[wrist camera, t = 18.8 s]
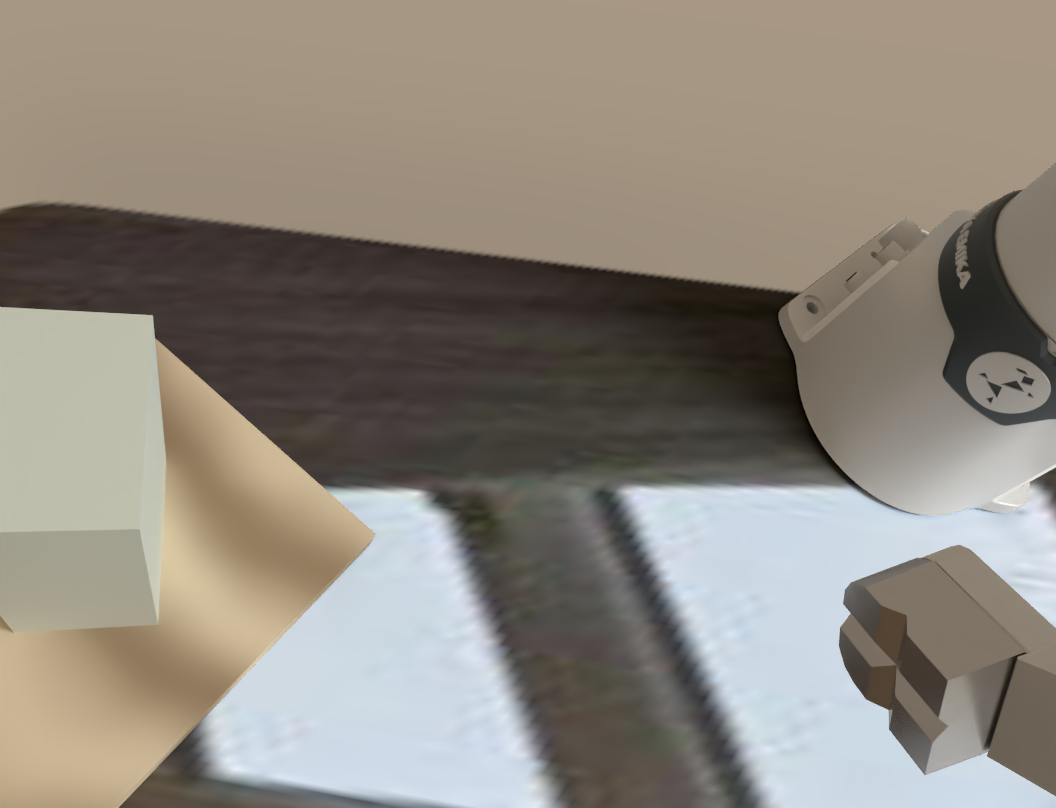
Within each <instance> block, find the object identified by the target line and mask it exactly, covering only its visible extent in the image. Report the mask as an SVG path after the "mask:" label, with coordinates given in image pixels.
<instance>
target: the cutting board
mask: <svg viewBox="0 0 1056 808" xmlns="http://www.w3.org/2000/svg"><path fill="white" fill-rule="evenodd" d="M155 345H156V356H157V367H158V378H159V388H160V399H161V410H162V420H163V431H164V442H165V452H166V477H165V497H164V517H163V537H162V557H161V578H160V598H159V618H158V625H144V626H126V627H108V628H90V629H73V630H55V631H37V632H19V633H14V632H13V630H12V629H11V628H10V627H9V626H8V625H7V623H6V622H5V621H4V620H3V619H2V617H1V616H0V808H119V807H120V806H121V805H122V804H123V803H124V801H125V800H126V799H127V798H128V797H129V796H130V795H131V794H132V793H133V792H134V791H135V790H136V789H137V788H138V787H139V786H140V785H141V784H142V783H143V782H144V781H145V779H146V778H147V777H148V776H149V775H150V774H151V773H152V772H153V771H154V770H155V769H156V768H157V767H158V766H159V765H160V764H161V763H162V762H163V761H164V760H165V759H166V757H167V756H168V755H169V754H170V753H171V752H172V751H173V750H174V749H175V748H176V747H177V746H178V745H179V744H180V743H181V742H182V741H183V740H184V739H185V738H186V737H187V735H188V734H189V733H190V732H191V731H192V730H193V729H194V728H195V727H196V726H197V725H198V724H199V723H200V722H201V721H202V720H203V719H204V718H205V717H206V716H207V715H208V713H209V712H210V711H211V710H212V709H213V708H214V707H215V706H216V705H217V704H218V703H219V702H220V701H221V700H222V699H223V698H224V697H225V696H226V695H227V694H228V693H229V691H230V690H231V689H232V688H233V687H234V686H235V685H236V684H237V683H238V682H239V681H240V680H241V679H242V678H243V677H244V676H245V675H246V674H247V673H248V672H249V671H250V669H251V668H252V667H253V666H254V665H255V664H256V663H257V662H258V661H259V660H260V659H261V658H262V657H263V656H264V655H265V654H266V653H267V652H268V651H269V650H270V649H271V647H272V646H273V645H274V644H275V643H276V642H277V641H278V640H279V639H280V638H281V637H282V636H283V635H284V634H285V633H286V632H287V631H288V630H289V629H290V628H291V627H292V625H293V624H294V623H295V622H296V621H297V620H298V619H299V618H300V617H301V616H302V615H303V614H304V613H305V612H306V611H307V610H308V609H309V608H310V607H311V606H312V605H313V603H314V602H315V601H316V600H317V599H318V598H319V597H320V596H321V595H322V594H323V593H324V592H325V591H326V590H327V589H328V588H329V587H330V586H331V585H332V584H333V583H334V581H335V580H336V579H337V578H338V577H339V576H340V575H341V574H342V573H343V572H344V571H345V570H346V569H347V568H348V567H349V566H350V565H351V564H352V563H353V562H354V561H355V559H356V558H357V557H358V556H359V555H360V554H361V553H362V552H363V551H364V550H365V549H366V548H367V547H368V546H369V545H370V543H371V542H372V540H373V538H374V536H375V533H374V532H373V531H372V530H370V529H369V528H368V527H367V526H366V525H365V524H364V523H363V522H361V521H360V520H359V519H358V518H357V517H356V516H355V515H353V514H352V513H351V512H350V511H349V510H348V509H347V508H346V507H344V506H343V505H342V504H341V503H340V502H339V501H338V500H337V499H335V498H334V497H333V496H332V495H331V494H330V493H329V492H328V491H326V490H325V489H324V488H323V487H322V486H321V485H320V484H319V483H317V482H316V481H315V480H314V479H313V478H312V477H311V476H310V475H308V474H307V473H306V472H305V471H304V470H303V469H302V468H301V467H299V466H298V465H297V464H296V463H295V462H294V461H293V460H292V459H290V458H289V457H288V456H287V455H286V454H285V453H284V452H283V451H281V450H280V449H279V448H278V447H277V446H276V445H275V444H274V443H272V442H271V441H270V440H269V439H268V438H267V437H266V436H265V435H263V434H262V433H261V432H260V431H259V430H258V429H257V428H256V427H254V426H253V425H252V424H251V423H250V422H249V421H248V420H247V419H245V418H244V417H243V416H242V415H241V414H240V413H239V412H238V411H236V410H235V409H234V408H233V407H232V406H231V405H230V404H229V403H227V402H226V401H225V400H224V399H223V398H222V397H221V396H220V395H218V394H217V393H216V392H215V391H214V390H213V389H212V388H211V387H209V386H208V385H207V384H206V383H205V382H204V381H203V380H202V379H200V378H199V377H198V376H197V375H196V374H195V373H194V372H193V371H191V370H190V369H189V368H188V367H187V366H186V365H185V364H184V363H182V362H181V361H180V360H179V359H178V358H177V357H176V356H175V355H173V354H172V353H171V352H170V351H169V350H168V349H167V348H165V347H164V346H163V345H162V344H161V343H160V342H159V341H158V340H156V339H155Z"/></svg>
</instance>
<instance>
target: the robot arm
mask: <svg viewBox="0 0 1056 808" xmlns="http://www.w3.org/2000/svg"><path fill="white" fill-rule="evenodd" d="M808 310H809V311H810V312H809V311H808ZM778 317H779V323H780V326H781V328H782V331H783V333H784V335H785V337H786V340H787V342H788V344H789V346H790V348H791V350H792V352H793V353H794V357H795V362H796V368H797V378H798V386H799V392H800V396H801V400H802V404H803V407H804V410H805V412H806V415H807V418H808V420H809V422H810V424H811V426H812V428H813V430H814V432H815V434H816V436H817V437H818V439H819V441H820V442H821V444H822V445H823V447H824V448H825V450H826V451H827V452H828V454H829V455H830V456H831V458H832V459H833V460H834V461H835V463H836V464H837V465H838V466H839V467H840V468H841V469H842V470H843V471H844V472H845V473H846V474H847V475H848V476H849V477H850V478H851V479H852V480H853V481H854V482H855V483H857V484H858V485H859V486H860V487H862V488H863V489H864V490H866V491H867V492H868V493H870V494H871V495H873V496H875V497H876V498H878V499H880V500H881V501H883V502H885V503H887V504H889V505H891V506H893V507H896V508H898V509H901V510H904V511H907V512H910V513H914V514H919V515H926V516H942V515H949V514H953V513H956V512H960V511H963V510H966V509H972V508H979V509H983V510H987V511H992V512H997V513H1011V512H1013V511H1015V510H1017V509H1018V508H1020V507H1022V506H1023V505H1024V504H1025V503H1026V501H1027V498H1028V492H1029V485H1030V481H1032V480H1034V479H1035V478H1037V477H1039V476H1041V475H1043V474H1044V473H1046V472H1048V471H1050V470H1052V469H1053V468H1055V467H1056V163H1055V164H1054V165H1052V166H1051V167H1050V168H1049V169H1048V170H1047V171H1045V172H1044V173H1043V174H1042V175H1041V176H1040V177H1038V178H1037V179H1036V180H1035V181H1033V182H1032V183H1031V184H1030V185H1028V186H1027V187H1026V188H1025V189H1024V190H1019V191H1014V192H1012V193H1009V194H1007V195H1005V196H1003V197H1002V198H1000V199H998V200H995V201H993V202H991V203H989V204H988V205H986V206H985V207H983V208H982V209H980V210H979V211H978V212H974V211H969V210H958V211H955V212H953V213H952V214H951V215H949V216H948V217H947V218H946V219H945V220H944V221H942V222H941V223H940V224H939V225H938V226H937V227H935V228H934V229H933V230H932V231H931V232H930V233H929V232H927V231H925V230H922V229H921V228H919V227H918V225H917V224H916V223H915V222H914V221H913V220H912V219H911V218H909V217H907V216H906V217H904V218H903V219H902V220H901V221H900V222H896V223H894V224H892V225H891V226H889V227H888V228H887V229H885V230H884V231H882V232H881V233H880V234H878V235H877V236H876V237H874V238H873V239H872V240H870V241H869V242H868V243H866V244H865V245H864V246H862V247H861V248H860V249H858V250H857V251H856V252H855V253H853V254H852V255H851V256H849V257H848V258H846V259H845V260H844V261H843V262H841V263H840V264H839V265H837V266H836V267H835V268H833V269H832V270H831V271H830V272H828V273H827V274H825V275H824V276H823V277H821V278H820V279H819V280H817V281H816V282H815V283H813V284H812V285H811V286H810V287H808V288H807V289H806V290H804V291H803V292H802V293H800V294H799V295H798V296H796V297H795V298H794V299H792V300H791V301H790V302H788V303H787V304H786V305H784V306H783V307H782V308H781V309H780V311H779V316H778ZM843 604H844V605H845V606H846V608H847V609H848V610H849V611H850V613H851V614H850V616H849V617H848V618H847V619H846V621H845V622H844V623H843V625H842V626H841V627H840V639H839V647H840V651H841V654H842V658H843V661H844V665H845V667H846V669H847V671H848V673H849V675H850V676H851V678H852V680H853V682H854V683H855V685H856V686H857V688H858V689H859V690H860V692H861V693H862V694H863V696H864V697H865V698H866V699H867V700H869V701H871V702H873V703H875V704H877V705H879V706H881V707H884V708H886V709H888V710H889V730H890V731H891V732H892V734H893V735H894V736H895V737H896V739H897V740H898V741H899V743H900V744H901V745H902V746H903V748H904V749H905V750H906V752H907V753H908V754H909V755H910V757H911V758H912V759H913V761H914V762H915V763H916V764H917V766H918V767H919V768H920V770H921V771H922V772H923V773H924V775H927V774H929V773H932V772H935V771H937V770H940V769H943V768H946V767H948V766H951V765H954V764H956V763H959V762H962V761H964V760H967V759H970V758H973V757H975V756H978V755H981V754H983V753H986V752H988V755H987V756H988V757H989V758H991V759H993V760H995V761H996V762H998V763H1000V764H1001V765H1003V766H1005V767H1007V768H1008V769H1010V770H1012V771H1013V772H1015V773H1017V774H1019V775H1020V776H1022V777H1024V778H1026V779H1027V780H1029V781H1031V782H1032V783H1034V784H1036V785H1038V786H1039V787H1041V788H1043V789H1044V790H1046V791H1048V792H1050V793H1051V794H1053V795H1055V796H1056V628H1055V627H1054V626H1053V625H1052V624H1050V623H1049V622H1048V621H1047V620H1046V619H1045V618H1044V617H1043V616H1042V615H1041V614H1040V613H1039V612H1037V611H1036V610H1035V609H1034V608H1033V607H1032V606H1031V605H1030V604H1029V603H1028V602H1027V601H1026V600H1024V599H1023V598H1022V597H1021V596H1020V595H1019V594H1018V593H1017V592H1016V591H1015V590H1014V589H1013V588H1011V587H1010V586H1009V585H1008V584H1007V583H1006V582H1005V581H1004V580H1003V579H1002V578H1001V577H1000V576H998V575H997V574H996V573H995V572H994V571H993V570H992V569H991V568H990V567H989V566H988V565H987V564H985V563H984V562H983V561H982V560H981V559H980V558H979V557H978V556H977V555H976V554H975V553H974V552H972V551H971V550H970V549H968V548H965V547H963V546H961V545H957V546H951V547H948V548H946V549H943V550H941V551H938V552H935V553H933V554H930V555H927V556H925V557H922V558H915V559H913V560H910V561H907V562H905V563H902V564H899V565H897V566H894V567H891V568H889V569H886V570H883V571H881V572H878V573H875V574H873V575H870V576H867V577H865V578H862V579H859V580H857V581H854V582H851V584H850V585H849V586H848V587H847V588H846V589H845V595H844V602H843Z"/></svg>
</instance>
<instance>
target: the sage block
mask: <svg viewBox="0 0 1056 808" xmlns="http://www.w3.org/2000/svg"><path fill="white" fill-rule="evenodd" d="M165 477H166V452H165V442H164V431H163V420H162V410H161V399H160V388H159V378H158V367H157V356H156V345H155V335H154V324H153V315H137V314H118V313H99V312H81V311H62V310H43V309H25V308H6V307H0V616H1V617H2V619H3V620H4V621H5V622H6V623H7V625H8V626H9V627H10V628H11V629H12V630H13V632H14V633H19V632H37V631H55V630H73V629H90V628H108V627H126V626H144V625H158V618H159V598H160V578H161V557H162V537H163V517H164V497H165Z"/></svg>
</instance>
